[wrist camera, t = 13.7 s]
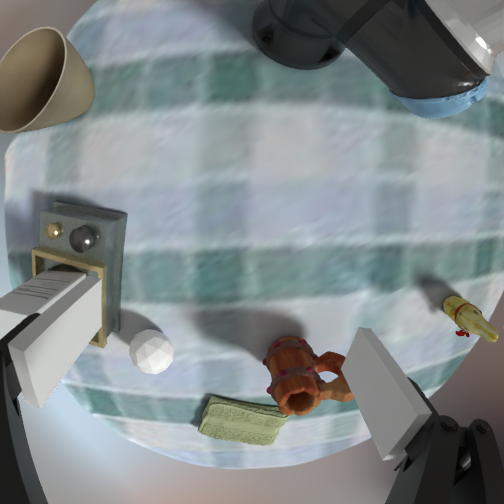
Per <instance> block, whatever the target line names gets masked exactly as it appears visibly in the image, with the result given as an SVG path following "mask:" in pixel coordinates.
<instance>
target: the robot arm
mask: <svg viewBox="0 0 504 504" xmlns="http://www.w3.org/2000/svg"><path fill="white" fill-rule="evenodd" d="M252 29H253V35H254V38H255V41H256V43H257V44H258V46H259V47H260V49H261V50H262V51H263V52H264V53H265V54H266V55H267V56H269V57H270V58H271V59H273V60H274V61H276V62H278V63H280V64H282V65H285V66H288V67H291V68H295V69H303V70H311V69H318V68H322V67H325V66H327V65H329V64H331V63H332V62H334V61H335V60H336V59H337V58H338V57H339V56H340V55H341V54H342V53H343V51H344V50H345V48H348V49H349V50H350V51H351V52H352V53H353V54H354V55H355V56H357V57H358V58H359V59H360V60H361V61H362V62H363V63H364V64H365V65H366V66H367V67H368V68H369V69H370V70H371V71H372V72H373V73H374V74H375V75H376V76H377V77H378V78H379V79H380V80H381V81H382V82H383V83H384V84H385V85H386V86H387V87H388V88H389V91H390V92H391V94H392V95H393V96H395V97H396V98H398V99H399V100H400V101H401V102H402V103H403V104H404V105H405V106H406V107H407V108H408V109H409V110H410V111H411V112H412V113H413V114H415V115H418V116H420V117H422V118H428V119H436V118H443V117H447V116H450V115H453V114H456V113H459V112H461V111H463V110H465V109H467V108H469V107H470V106H471V103H473V102H477V101H479V100H480V99H481V98H482V97H483V96H484V94H485V93H486V91H487V87H488V82H487V77H486V76H489V75H491V74H492V73H494V68H495V59H496V56H497V54H499V53H500V52H503V51H504V0H264V1H263V2H262V3H261V4H260V5H259V6H258V8H257V10H256V12H255V14H254V18H253V27H252ZM101 287H102V279H100V278H97V277H93V276H87V277H86V278H85V279H83V280H82V281H81V282H80V283H78V284H77V285H76V286H75V287H73V288H72V289H71V290H70V291H68V292H67V293H66V294H65V295H63V296H62V297H61V298H60V299H59V300H57V301H56V302H55V303H54V304H53V305H51V306H50V307H49V308H48V309H47V310H45V311H44V312H43V313H42V314H40V313H38V312H37V313H34V314H32V315H29V316H27V317H26V318H25V319H23V320H22V321H21V323H19V324H18V325H16V326H15V328H13V329H12V330H11V331H9V332H8V333H7V334H6V335H5V336H4V337H3V338H1V339H0V504H48V502H47V500H46V497H45V494H44V492H43V489H42V486H41V484H40V481H39V478H38V475H37V472H36V469H35V466H34V463H33V460H32V457H31V453H30V449H29V445H28V442H27V438H26V434H25V429H24V425H23V420H22V415H21V410H20V405H19V401H18V398H17V396H18V395H19V394H20V392H21V391H22V393H23V396H24V399H25V401H26V402H28V403H29V404H31V405H33V406H35V407H37V408H39V409H41V408H42V407H43V405H44V404H45V402H46V401H47V399H48V398H49V396H50V395H51V394H52V392H53V391H54V389H55V388H56V386H57V385H58V384H59V382H60V381H61V379H62V378H63V377H64V375H65V374H66V373H67V371H68V370H69V368H70V367H71V366H72V364H73V363H74V362H75V360H76V359H77V358H78V356H79V355H80V354H81V352H82V351H83V350H84V348H85V347H86V346H87V345H88V343H89V342H90V341H91V339H92V338H93V337H94V335H95V334H96V333H97V332H98V330H99V329H100V328H101V327H102V317H101ZM341 371H342V373H343V375H344V377H345V379H346V381H347V383H348V386H349V388H350V390H351V392H352V394H353V396H354V398H355V401H356V403H357V405H358V407H359V409H360V411H361V414H362V416H363V418H364V420H365V422H366V425H367V427H368V429H369V431H370V433H371V436H372V438H373V440H374V442H375V445H376V447H377V449H378V451H379V454H380V456H381V458H382V460H388V459H394V458H397V457H398V456H399V455H400V454H401V453H402V451H403V450H404V449H405V451H406V452H407V456H406V457H405V458H404V459H403V460H402V461H401V462H400V463H399V465H398V466H397V467H396V468H395V469H394V471H397V469H398V468H400V470H399V472H398V475H397V477H396V480H395V482H394V485H393V487H392V490H391V492H390V494H389V496H388V499H387V500H386V503H385V504H504V469H503V465H502V461H501V457H500V453H499V449H498V446H497V442H496V439H495V436H494V433H493V430H492V428H491V426H490V425H489V424H488V422H486V421H485V420H481V419H475V420H473V422H472V423H471V424H470V426H469V427H459V425H458V423H457V422H456V421H455V420H454V419H452V418H451V417H449V416H445V415H441V416H439V414H438V413H437V411H436V410H435V409H434V407H433V406H432V404H431V403H430V402H429V400H428V399H427V398H426V396H425V395H424V393H423V392H421V391H422V390H421V389H420V388H419V386H418V385H417V384H416V383H415V382H414V381H413V380H411V379H410V378H409V377H406V375H405V374H404V372H403V371H402V370H401V368H400V367H399V366H398V364H397V363H396V361H395V360H394V359H393V357H392V356H391V355H390V353H389V352H388V351H387V349H386V348H385V347H384V345H383V344H382V343H381V341H380V340H379V339H378V337H377V336H376V335H375V333H374V332H373V331H372V330H371V329H370V328H361V327H359V328H358V330H357V333H356V335H355V338H354V340H353V342H352V345H351V347H350V349H349V352H348V354H347V356H346V358H345V361H344V363H343V365H342V367H341ZM470 460H471V466H470V467H469V468H468V469H466V465H467V464H468V462H469V461H470Z"/></svg>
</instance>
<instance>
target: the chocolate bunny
mask: <svg viewBox="0 0 504 504" xmlns="http://www.w3.org/2000/svg"><path fill="white" fill-rule="evenodd" d="M443 309H444V311H445V313H446V314H447V315H448V316H449V317H450V318H451V319H452V320H453V321H455V323H457V324H458V325H459V327H460V328H461V329H462V328H463V330H460V331H456V334H457V335H458V336H464V335H465V334H466V336H467V337H469V333H468V332H471V333H474V334H477V335H479V336H481V337H483V338H484V339H485V340H487V341H489V342H495V341H496V340H497V338H498V332H497V331H496V329H495V328H494V327H493V326H491V325H490V324H489V323H488V322H487V321H486V320H485V318H484V317H483V315H482V312H481V311H480V310H479V309H478V308H477V307H476V306H475V307H474V305H472V304H470V303H469V302H468V301H466V300H465V299H462V298H459V297H456V296H450V297H448V298H446V299H445V300H444V302H443ZM462 331H465V332H462ZM466 332H467V333H466Z"/></svg>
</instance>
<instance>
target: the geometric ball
mask: <svg viewBox="0 0 504 504" xmlns="http://www.w3.org/2000/svg"><path fill="white" fill-rule="evenodd" d="M129 354H130V357H131V359H132V362H133V364H134V366H135V367H137V368H138V369H140V370H141V371H142V372H144V373H151V374H158V373H160V372H162V371H164V370H166V369H167V368H168V366H169V365H170V364H171V362H172V361H173V346H172V344H171V342H170V340H169V338H168V337H167V336H165V335H164V334H162V333H160V332H159V331H155V330H149V329H146V330H144V331H141V332H139V333H136V335H135V336H134V338H133V339H132V341H131V342H130V353H129Z"/></svg>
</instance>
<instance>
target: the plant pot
mask: <svg viewBox="0 0 504 504" xmlns="http://www.w3.org/2000/svg"><path fill="white" fill-rule="evenodd" d="M94 96H95V86H94V83H93V80H92V77H91V75H90V72H89V70H88V68H87V66H86V64H85V63H84V61H83V59H82V58H81V56H80V55H79V53H78V52H77V50H76V49H75V48H74V47H73V45H72V44H71V43H70V42H69V41H68V40H67V39H66V37H65V36H64V35H63V34H62V33H61V32H60V31H59V30H57V29H56V28H53V27H41V28H37V29H34V30H32V31H30V32H28V33H27V34H25V35H24V36H22V37H21V38H20V39H19V40H17V41H16V42H15V43H14V44H13V45H12V46H11V47H10V49H9V50H8V51H7V52H6V54H5V55H4V56H3V58H2V59H1V61H0V132H1V133H4V134H13V133H21V132H27V131H33V130H38V129H43V128H47V127H50V126H54V125H57V124H60V123H63V122H66V121H68V120H71V119H73V118H75V117H78V116H80V115H81V114H83V113H84V112H85V111H86V110H87V109H88V108H89V107H90V105H91V104H92V102H93V99H94Z"/></svg>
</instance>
